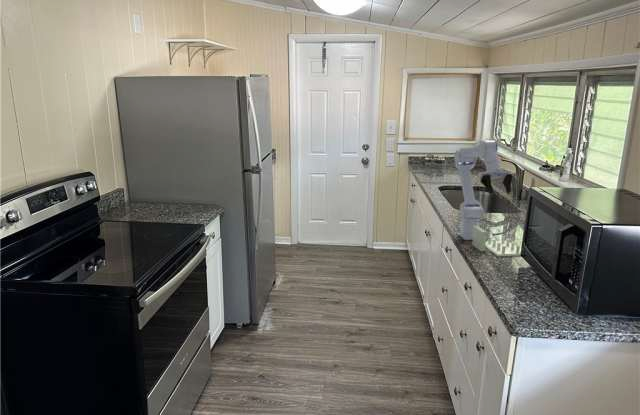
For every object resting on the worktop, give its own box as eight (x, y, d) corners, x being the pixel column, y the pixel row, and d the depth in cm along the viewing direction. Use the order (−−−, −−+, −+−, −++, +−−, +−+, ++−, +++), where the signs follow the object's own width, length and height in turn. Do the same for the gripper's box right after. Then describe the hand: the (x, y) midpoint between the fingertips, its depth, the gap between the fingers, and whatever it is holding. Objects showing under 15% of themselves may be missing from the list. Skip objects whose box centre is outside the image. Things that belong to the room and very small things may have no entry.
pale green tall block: (480, 251, 195) (482, 232, 193) (472, 244, 204) (473, 226, 202) (485, 251, 196) (486, 232, 193) (476, 244, 204) (478, 226, 202)
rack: (480, 243, 205) (481, 235, 204) (507, 242, 206) (508, 234, 205) (497, 256, 189) (498, 247, 188) (526, 255, 190) (527, 246, 189)
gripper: (479, 159, 184) (486, 187, 177) (513, 159, 185) (521, 187, 178) (473, 168, 190) (480, 196, 183) (506, 168, 191) (513, 195, 185)
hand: (500, 192), depth 181 cm, fingers open, 7 cm apart
